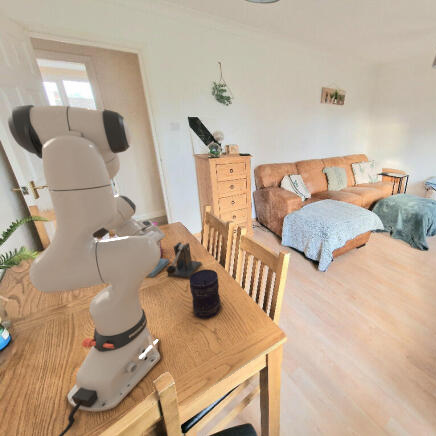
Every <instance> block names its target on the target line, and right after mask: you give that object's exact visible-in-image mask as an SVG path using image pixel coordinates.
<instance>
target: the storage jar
mask: <svg viewBox="0 0 436 436" xmlns="http://www.w3.org/2000/svg"><path fill="white" fill-rule="evenodd" d="M218 277H219V276H218V273H217V272H216V271H215V270H214V269H201V270H198V271H197V270H196V271H195V272H194V273H193V274H192V275H191V276H190V278H189V279H188V281H189V289H190V293H191V296H192V309H193V314H194V316H195V317H196V318H197V319H203V320H207V319H210V318H211V319H212V318H213V317H215V316H216V315H217V314H219V312H220V310H221V297H220V293H219V288H220V285H219V278H218Z"/></svg>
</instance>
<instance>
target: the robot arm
mask: <svg viewBox="0 0 436 436" xmlns="http://www.w3.org/2000/svg"><path fill="white" fill-rule="evenodd" d="M7 125H8V129H9V132H10V134H11V135H12V138H13V139H14V141H15V142H16V143H17V145H18V146H20V147H21V148H22V149H23V150H25V151H26V152H28V153H30V154H32V155H33V154H34V155H36V156H37V157H38V158H39V159H41V160H42V169H43V174H44V179H45V183H46V187H47V189H48V193H49V196H50V199H51V204H52V207H53V212H54V215H55V222H56V225H55V227H56V228H55V233H54V236H53V238H52V240H51V241H50V243H49V245H48V246H47V247H46V248H45V249H44V250H43V251H42V252H41V253H39V254H38V255H36V257H35V258H34V259H33V261H32V262H31V264H30V267H29V272H28V275H29V280H30V282H31V284H32V285H33V287H34V288H36V289H37V290H38V291H39V292H42V293H44V294H59V293H60V294H61V293H68V292H69V293H71V292H76V291H81V290H84V289H90V288H93V287H97V286H102V285H107V284H108V285H107V286H106V287H104V288H103V289H101V290H100V291H99V292H98V293H97V294H96V295H94V297H93V298H92V300H91V301H90V303H89V307H88V312H89V315H90V317H91V320H92V324H93V326H94V329H93V330H94V331H93V338H89V337H86V338H85V339H83V340H82V343H81V346H82V347H84V348H90V350H89V351H88V353H87V355H86V356H85V358H84V360H83V361H82V363H81V365H80V367H79V369H78V371H76V375H75V384H74V385H73V387H72V388H71V389H70V391H68V394H67V401H68V403H69V404H70V406H72V407H73V408H72V409H71V411H70V412H69V415H68V418H67V420H68V424H67V426H66V427H65V428H64V430H63V431H62V432H61V433H59V435H58V436H64V435H65V434H66V433H67V432H68V431H70V429H71V428H72V426H73V425H74V423H75V420H76V419H75V414H76V412H77V411H78V410H81V411H86V412H104V411H108V410H112V409H113V408H115V407H117V406H118V405H119V404H120V403H121V402H122V401H123V400H124V399H125V397H126V396H127V395H128V394H129V393H130V392H131V391H132V390H133V389H134V388H135V387H136V386H137V385H138V383H139V382H141V381H142V379H143V378H144V377H145V376H146V375H147V374H148V373H149V372H150V371H151V370H152V368H154V366H155V365H156V364H157V363H158V362H159V361H160V360H161V354H160V352H159V350H158V349H159V348H158V345H159V344H158V341H159V339H156V338H155V337H154V336H153V334H152V333H151V331H150V329H149V326H148V320H147V319H148V318H147V316H146V311H145V310H144V308H143V307H142V302H141V296H140V295H141V294H140V291H141V287H142V284H143V282H144V281H145V279H146V278H148V276H147V275H148V274H149V273H150V272H152V271H153V270H154V269H155V268H156V266H157V265H158V263H159V261H160V254H161V255H162V251H161V252H160V248H159V246H158V244H157V243H158V242H159V241H160V242H161V241H162V240H164V238H165V237H166V235H165V233H164V232H163V230H162V229H160V228H159V226H158V227H157V226H155V225H152V223H153V222H152V221H151V220H150V219H149V220H140V221H137V220H136V219H135V218H133V216H134V215H135V214H136V212H137V211H136V209H137V206H136V204H135V203H134V202H133V201H132V200H131V199H130V198H129V197H127V196H125V195H121V194H117V195H115V193H114V188H113V186H112V181H111V180H113V179H114V178H115V177H116V176H117V175H118V173H119V171H120V163H121V162H120V158H119V154H120V153H123V152H126V151H127V150H128V149H129V148H130V147H131V145H130V144H131V141H132V131H131V128H130V126H129V124H128V122H127V121H126V120H125V118H124V116H123V115H122V114H120V113H119V112H118V111H114V110H110V109H102V110H100V109H96V108H87V107H79V106H77V107H76V106H70V105H36V106H35V105H33V104H27V105H19V106H14V107H13V108H11V110H10V111H9V113H8V114H7ZM111 231H113V233H114V235H115V236H117V237H114V238H108V239H102V240H95V239H100V238H103V237H105V236H106V235H107V234H109V233H110V232H111Z"/></svg>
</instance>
